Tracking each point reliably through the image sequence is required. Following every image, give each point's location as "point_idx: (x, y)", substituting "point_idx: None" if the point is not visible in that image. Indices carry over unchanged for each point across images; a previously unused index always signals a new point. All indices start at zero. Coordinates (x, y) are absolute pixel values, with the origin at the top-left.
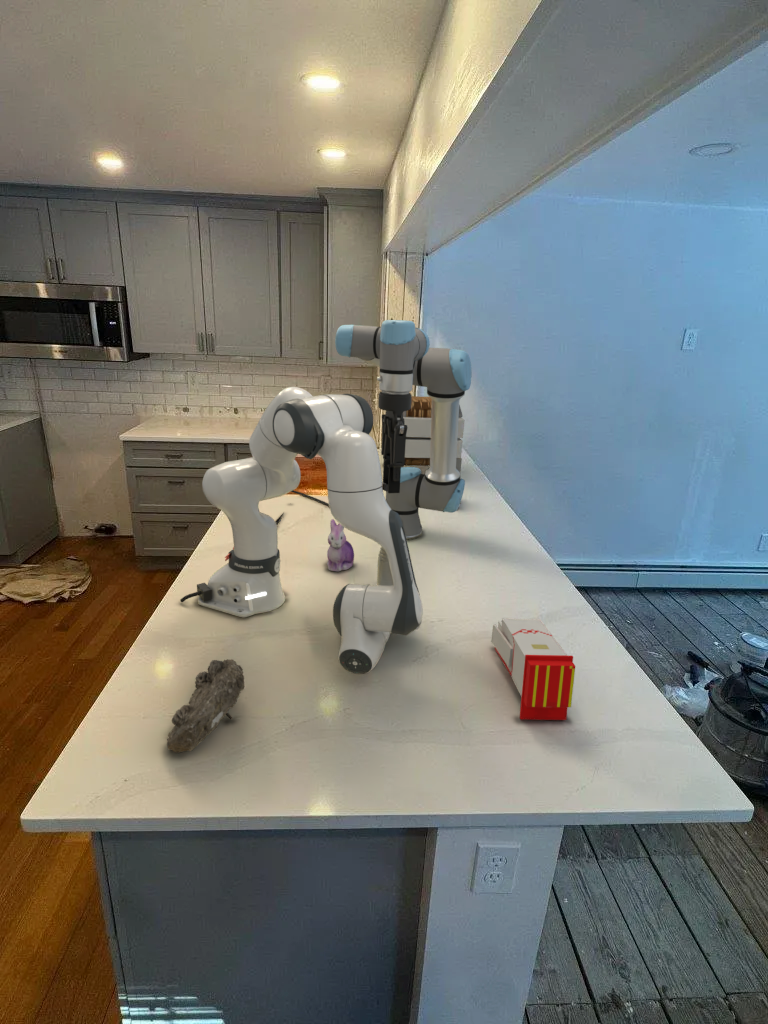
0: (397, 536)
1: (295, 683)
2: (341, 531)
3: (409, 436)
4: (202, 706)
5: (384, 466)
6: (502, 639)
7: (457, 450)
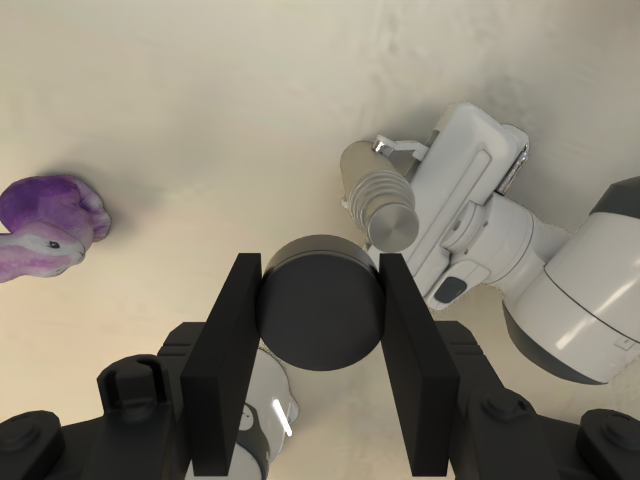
0: None
1: (514, 352)
2: (26, 247)
3: None
4: None
5: (238, 429)
6: None
7: None
